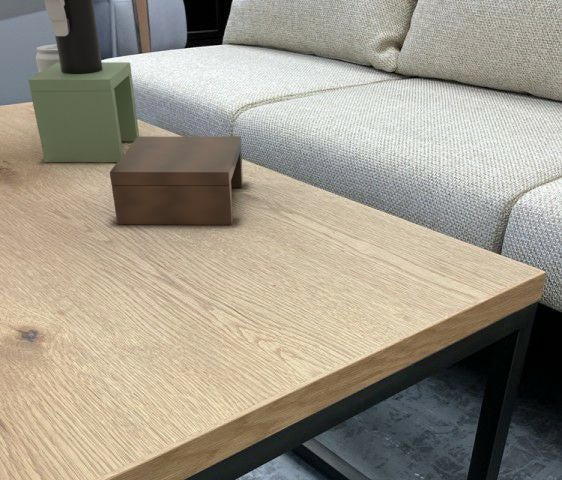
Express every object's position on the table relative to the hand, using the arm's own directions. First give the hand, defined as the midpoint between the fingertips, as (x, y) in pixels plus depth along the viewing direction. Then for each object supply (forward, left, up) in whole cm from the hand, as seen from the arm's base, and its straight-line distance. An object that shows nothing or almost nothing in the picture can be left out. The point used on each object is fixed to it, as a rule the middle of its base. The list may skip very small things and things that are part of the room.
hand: (73, 30), depth 95 cm
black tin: (0, 0, -5) cm, 5 cm away
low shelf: (+17, -22, -16) cm, 32 cm away
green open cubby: (0, 0, -16) cm, 16 cm away
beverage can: (-8, +14, -16) cm, 23 cm away
